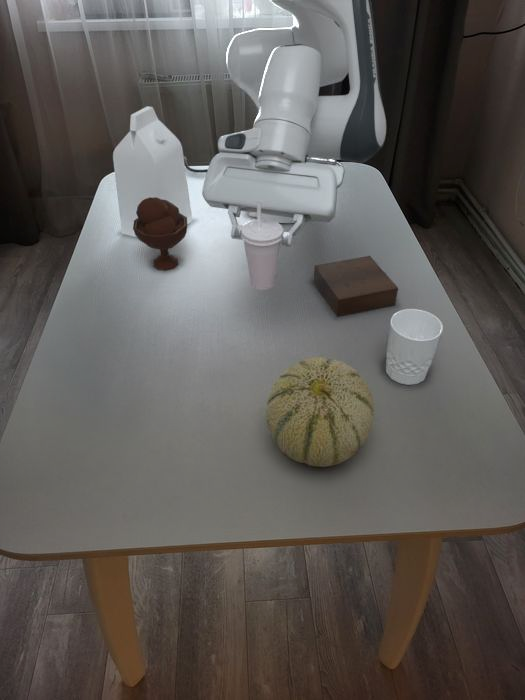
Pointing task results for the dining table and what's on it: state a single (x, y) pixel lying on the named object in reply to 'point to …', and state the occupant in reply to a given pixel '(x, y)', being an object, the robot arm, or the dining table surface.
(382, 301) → the block
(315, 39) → the robot arm
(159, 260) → the ice cream bowl
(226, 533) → the dining table surface
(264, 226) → the smoothie
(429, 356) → the white cup
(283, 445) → the cantaloupe
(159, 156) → the milk
